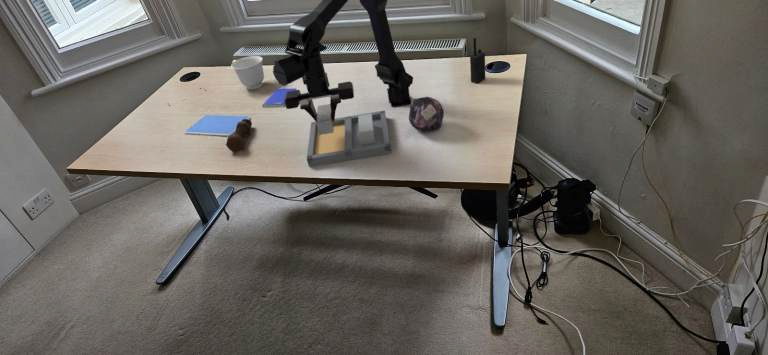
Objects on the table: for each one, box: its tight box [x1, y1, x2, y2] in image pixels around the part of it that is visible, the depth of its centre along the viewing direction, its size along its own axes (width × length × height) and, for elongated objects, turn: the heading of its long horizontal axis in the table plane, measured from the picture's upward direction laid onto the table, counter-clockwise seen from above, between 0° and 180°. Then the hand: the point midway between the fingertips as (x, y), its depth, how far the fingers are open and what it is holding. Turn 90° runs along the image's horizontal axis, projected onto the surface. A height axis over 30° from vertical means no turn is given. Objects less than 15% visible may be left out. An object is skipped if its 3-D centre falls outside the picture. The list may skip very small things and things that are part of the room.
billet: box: [315, 103, 334, 135], centre depth 133 cm, size 4×10×4 cm, turn 4°
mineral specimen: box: [408, 96, 445, 133], centre depth 134 cm, size 10×10×10 cm
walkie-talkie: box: [469, 37, 486, 84], centre depth 153 cm, size 5×3×15 cm
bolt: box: [225, 119, 252, 153], centre depth 146 cm, size 6×5×15 cm
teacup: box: [230, 55, 265, 90], centre depth 180 cm, size 12×15×10 cm
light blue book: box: [184, 114, 251, 137], centre depth 158 cm, size 19×13×1 cm, turn 70°
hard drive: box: [261, 87, 298, 108], centre depth 169 cm, size 2×8×12 cm
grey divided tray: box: [306, 110, 392, 167], centre depth 136 cm, size 23×21×5 cm
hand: (326, 122), depth 133 cm, fingers closed on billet, 4 cm apart
